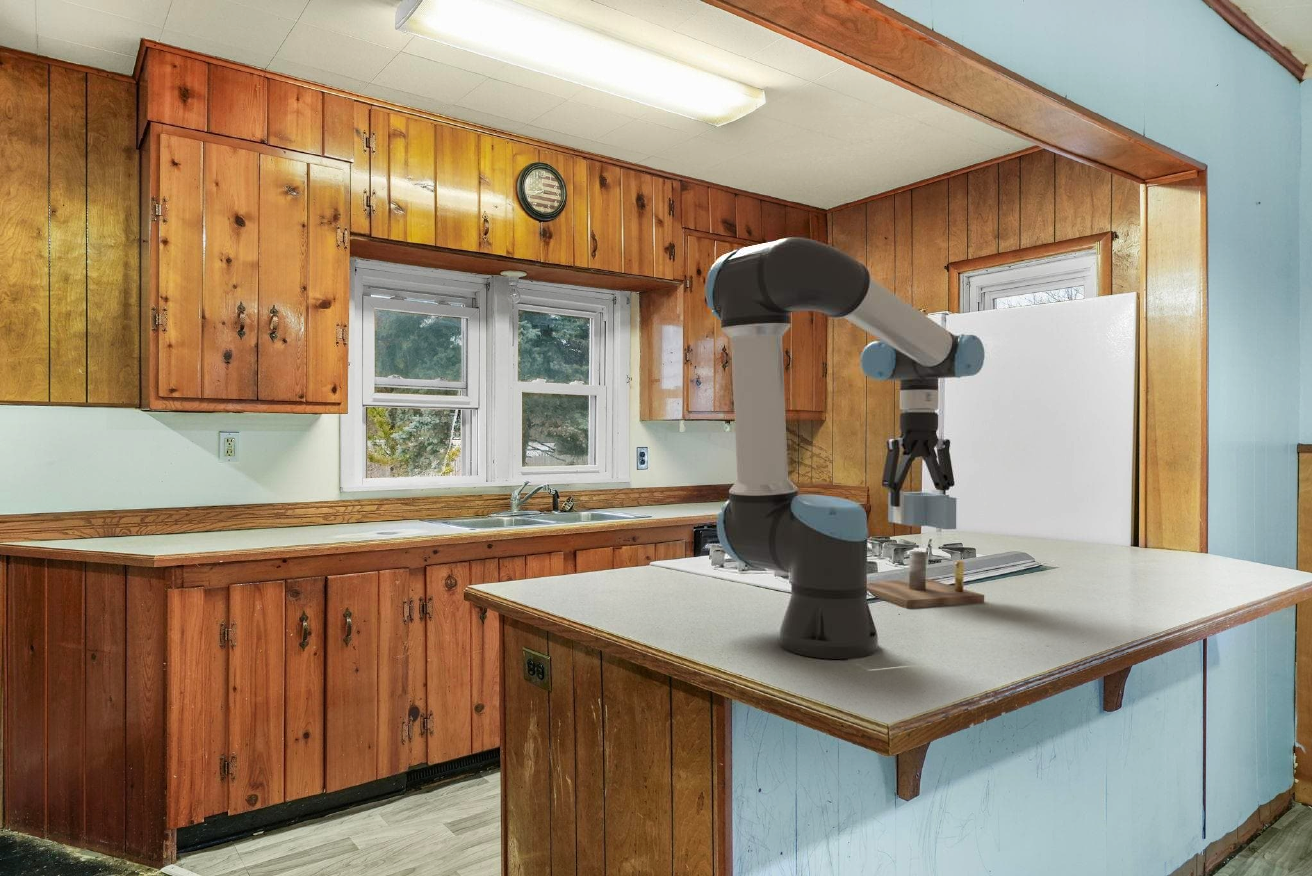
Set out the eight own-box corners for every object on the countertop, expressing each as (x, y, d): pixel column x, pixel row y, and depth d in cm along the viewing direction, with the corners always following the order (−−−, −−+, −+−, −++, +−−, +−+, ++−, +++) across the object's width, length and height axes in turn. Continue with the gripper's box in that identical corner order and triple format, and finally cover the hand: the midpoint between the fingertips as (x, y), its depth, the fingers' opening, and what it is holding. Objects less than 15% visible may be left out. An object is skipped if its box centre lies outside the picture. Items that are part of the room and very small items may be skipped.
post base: (906, 608, 154) (907, 561, 154) (855, 590, 171) (855, 547, 171) (984, 602, 159) (984, 556, 159) (926, 585, 176) (927, 544, 176)
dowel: (958, 592, 162) (958, 562, 162) (953, 590, 163) (953, 561, 163) (965, 591, 162) (965, 562, 162) (959, 590, 164) (960, 560, 164)
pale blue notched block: (888, 521, 168) (888, 492, 168) (922, 520, 170) (923, 491, 170) (932, 530, 154) (932, 498, 154) (969, 528, 156) (969, 497, 156)
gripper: (884, 410, 158) (883, 525, 158) (974, 411, 164) (973, 522, 165) (863, 411, 165) (862, 521, 165) (950, 412, 172) (949, 518, 172)
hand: (918, 522), depth 165 cm, fingers closed on pale blue notched block, 8 cm apart
